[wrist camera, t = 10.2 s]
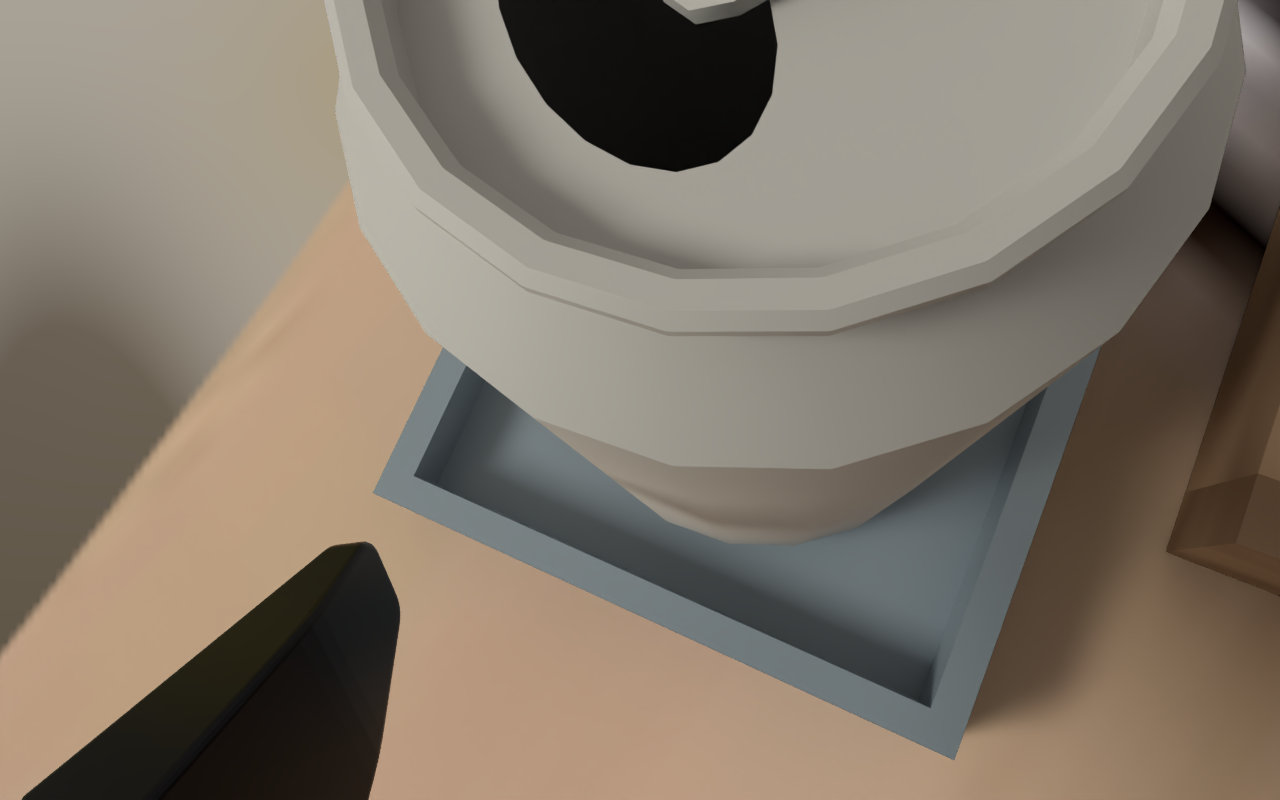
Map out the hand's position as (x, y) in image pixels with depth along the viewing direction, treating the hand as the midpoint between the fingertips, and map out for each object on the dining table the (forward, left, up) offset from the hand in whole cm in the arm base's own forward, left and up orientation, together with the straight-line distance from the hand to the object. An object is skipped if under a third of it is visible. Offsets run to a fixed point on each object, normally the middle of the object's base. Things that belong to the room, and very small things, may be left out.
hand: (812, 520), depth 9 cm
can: (+3, +2, -8) cm, 9 cm away
